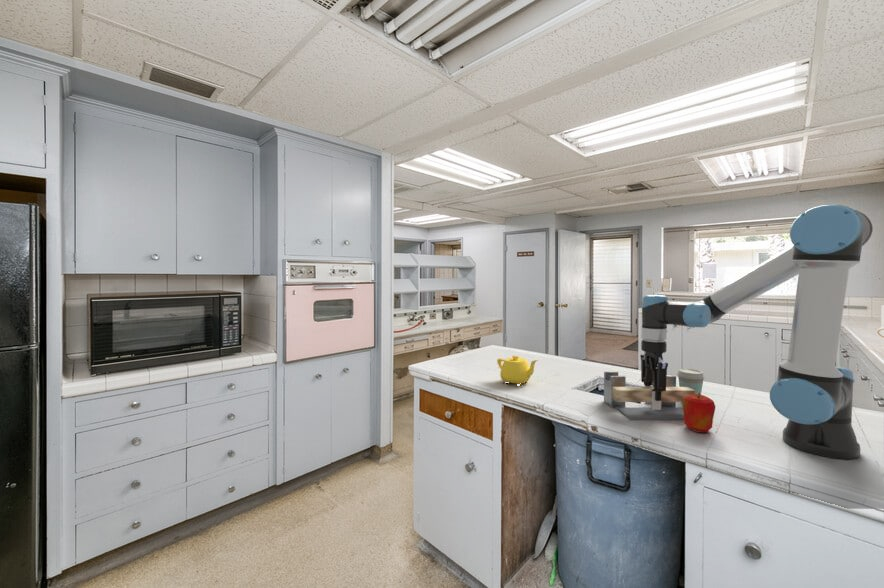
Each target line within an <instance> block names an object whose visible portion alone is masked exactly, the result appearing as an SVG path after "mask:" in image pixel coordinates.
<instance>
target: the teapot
mask: <svg viewBox="0 0 884 588" xmlns="http://www.w3.org/2000/svg"><path fill="white" fill-rule="evenodd" d="M496 361H497V365H498V367H499V369H500V374H499V375H500V379H501V381H503V382H510V383H511V384H516V383H517V384H520V383H521V384H525V383H524V382H528V381H530V379H531V376H532V375H533V374H534V373H535V372H534V371H535V364H536V362H537V361H539V359H538V360H537V359H535V360H532V361H531V363H530V364H529V362H528V360H527V359H526V358H523V357H520V356H519V355H512V356H511V357H508V358H506V359H505V358H497V359H496ZM502 363H503V364H502ZM510 383H509V384H510Z"/></svg>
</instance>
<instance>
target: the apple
mask: <svg viewBox="0 0 884 588" xmlns="http://www.w3.org/2000/svg"><path fill="white" fill-rule="evenodd" d="M714 401H715V400H713V399H711V398H710V397H708V396H707V395H703V394H701V395H700V393H699V394H694V395H688V396H686V397H685V398H684V400H683V401H682V402H681V404H682V407H683V412H684V420H683V421H684V424H685V426H686V427H687V428H689V429H690V430H692V431H694V432H697V433H707V432H709V431H710V430H712V428H713V422H714V416H715V412H716V404H715V402H714Z"/></svg>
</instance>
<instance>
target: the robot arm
mask: <svg viewBox="0 0 884 588" xmlns="http://www.w3.org/2000/svg"><path fill="white" fill-rule="evenodd" d="M872 234H873V223H872V220H871V219H870V218H869V217H868V216H867V215H866V214H865V213H863V212H862V211H860V210H856V209H853V208H852V207H849V206H846V205H842V204H825V205H819V206H815V207H812V208H809V209H808V210H806V211H804V212H803V213H800V214H799V216H798V217H797V218H795V219H794V221H793V222H792V223H791V226H790V229H789V238H790V241H791V243H792V245H790V246H788V247H786V248H785V249H783V250H782V251H780V252H779V253H776V254H775V255H774V256H772V257H771V258H769V259H767V260H766V261H764V262H762V263H760V264H759V265H757V266H755V267H754V268H752V269H750V270H749V271H747V272H746V273H744V274H742V275H741V276H739V277H737V278H735V279H734V280H732V281H731V282H729V283H727V284H726V285H724V286H722V287H720V288H718V289H717V290H716V291H714V292H713V293H712V292H711V294H709V295H707V296H706V297H704V298H702V299H701V300H699V301H690V302H689V301H688V302H675V301H674V302H672V301H669V300H668V297H667V295H660V294H648V295H644V296H643V298H642V303H641V304H642V305H641V335H640V336H641V339H642V340H641V344H640V345H641V351H643V352H644V354H640V355H639V356H640V368H641V369H640V371H641V372H640V373H641V374H640V375H641V377H640V378H641V379H640V380H641V381H640V382H641V383H643V385H644V387H653V388H654V389H651V390H652V402H644V405H646V406H651V407H652V409H653V410H661V392H662V391H666V376H668V372H667V371H668V366H669V363H668V362H666V361H665V362H664V358H663V354H665V353H667V341H666V340H667V333H668V325H674V326H680V327H681V326H682V327H690V328H706V327H707V326H708V325H709V324H711V323H714V322H717V321H719V320H720V319H721V318H722V317H724V316H725V315H726V314H728V313H730V312H731V311H733V310H735V309H737V308H739V307H741V306H743V305H745V304H746V303H748V302H750V301H752V300H754V299H756V298H757V297H759V296H761V295H763V294H765V293H767V292H770V291H771V290H772V289H774V288H776V287H777V286H779V285H782V284H783V283H785V282H787V281H789V280H791V279H793V278H794V277H796V276H798V278H797V283H796V285H797V286H796V290H795V291H796V292H795V301H794V309H793V317H792V324H791V333H790V339H789V344H788V345H789V347H788V355H787V359H785V360H783V361H781V362H779V364H778V370H777V371H778V372H777V377H776V382H774V383H773V384H772V386H771V388H770V391H769V401H770V403H771V405H772V406H773V408H774V409H775V410H776V411H777V412H778V413H779V414H780V415H782V416H783V417H784V418H786V419H787V423H786V426H785V427H784V428H783V430H782V441H784V442H785V443H786V444H788V445H789V446H792V447H793V448H795V449H798V450H801V451H803V452H807V453H810V454H814V455H816V456H821V457H828V458H832V459H833V458H834V459H839V460H841V459H842V460H854V459H858V458H860V457H861V444H860V443H859V442H858V441H857V440H858V439H857V436H856V433H855V430H854V427H853V425H852V424H853V423H852V421H853V420H852V419H853V418H852V417H853V398H854V397H853V396H854V395H853V390H854V383H855V379H854V374H853V371H852V370H851V369H850V368H846V367H842V366H836V362H837V356H838V348H839V342H840V341H839V340H840V335H841V328H842V320H843V314H844V307H845V300H846V293H847V287H848V279H849V274H850V273H849V271H850V269H851V268H853V267H855V266H856V265H858V264H860V261H861V257H862V255H861V254H862V249H863V246H865V245H866V244H867V243H868V241H869V240H870V238H871V237H872ZM652 385H653V386H652Z"/></svg>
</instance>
